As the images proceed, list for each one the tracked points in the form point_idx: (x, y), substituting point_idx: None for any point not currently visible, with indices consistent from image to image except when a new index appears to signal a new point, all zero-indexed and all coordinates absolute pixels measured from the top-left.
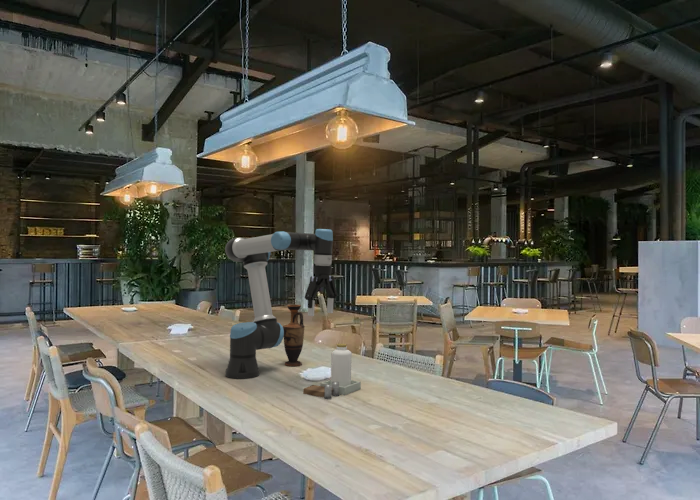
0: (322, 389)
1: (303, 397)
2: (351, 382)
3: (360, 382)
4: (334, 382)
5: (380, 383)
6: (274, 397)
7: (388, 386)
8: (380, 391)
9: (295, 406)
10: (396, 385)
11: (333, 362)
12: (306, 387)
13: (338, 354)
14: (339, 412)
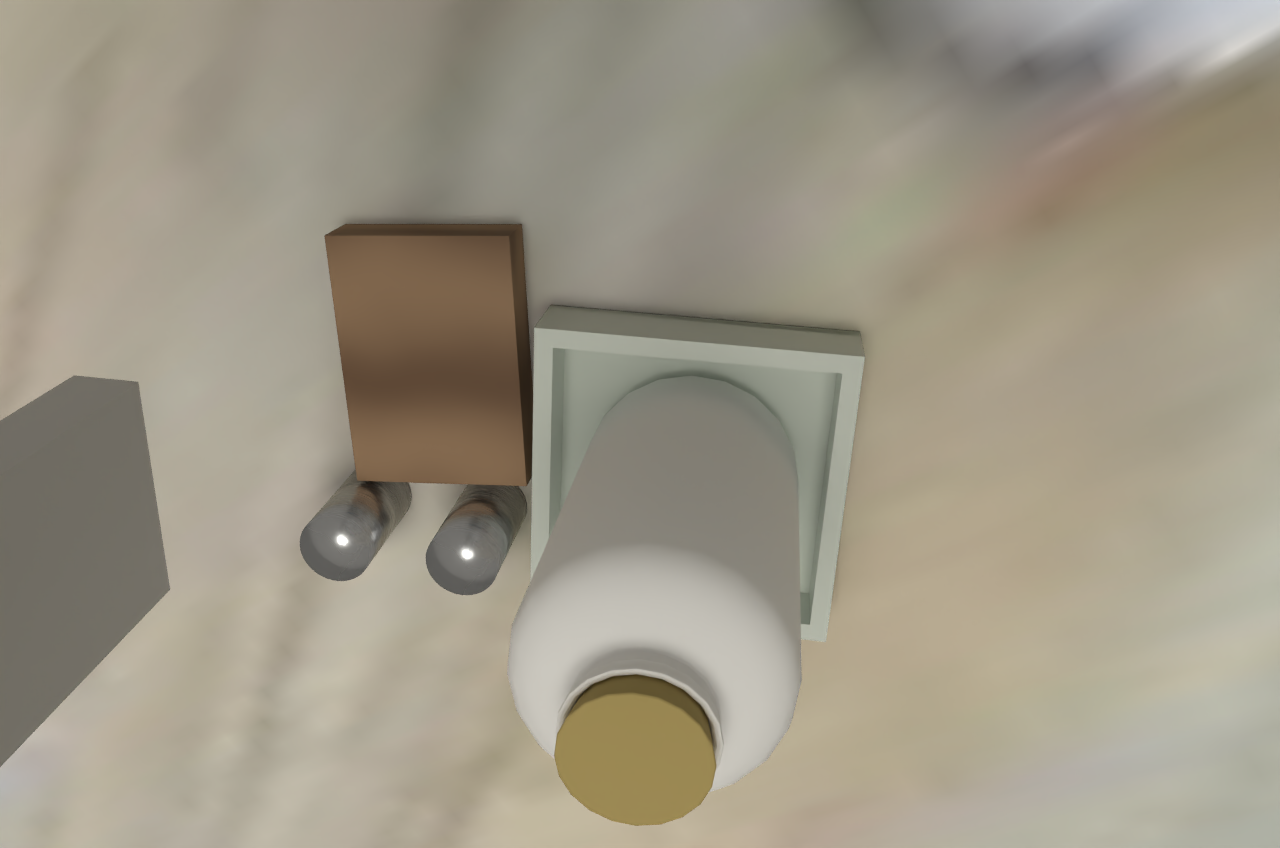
0: (423, 415)
1: (254, 298)
2: (818, 538)
3: (820, 637)
4: (457, 553)
5: (1136, 676)
6: (64, 55)
7: (1054, 771)
8: (842, 768)
9: (22, 389)
10: (1129, 816)
11: (537, 565)
12: (381, 237)
13: (514, 697)
14: (153, 721)
